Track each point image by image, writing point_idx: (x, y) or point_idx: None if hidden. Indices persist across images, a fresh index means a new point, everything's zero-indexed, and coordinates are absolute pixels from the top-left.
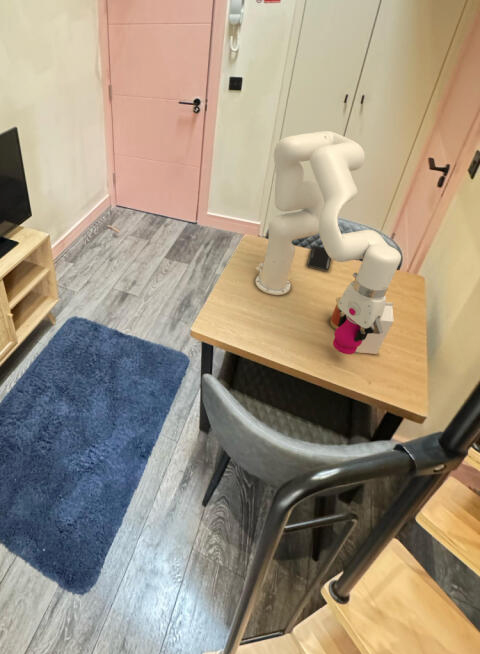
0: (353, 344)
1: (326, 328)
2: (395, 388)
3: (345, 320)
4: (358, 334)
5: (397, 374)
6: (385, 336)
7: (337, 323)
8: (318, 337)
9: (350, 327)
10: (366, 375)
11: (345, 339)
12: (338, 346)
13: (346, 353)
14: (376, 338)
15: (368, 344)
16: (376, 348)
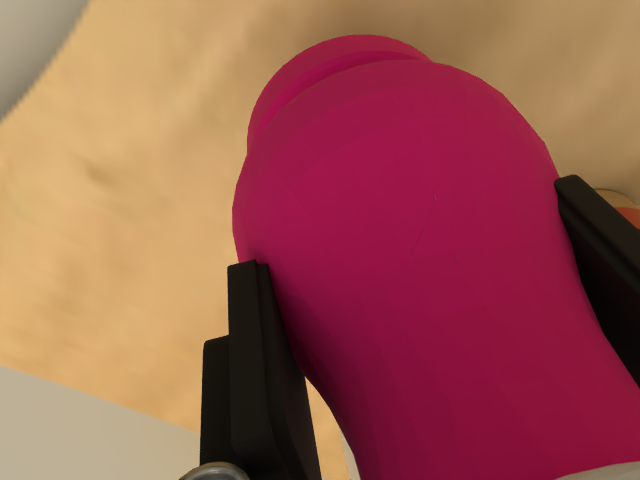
0: (238, 216)
1: (595, 147)
2: (58, 292)
3: (612, 333)
4: (237, 388)
5: (166, 344)
6: (347, 460)
7: None
8: (556, 41)
9: (425, 348)
10: (162, 188)
11: (315, 152)
12: (333, 61)
13: (254, 111)
14: None
15: None
16: None
